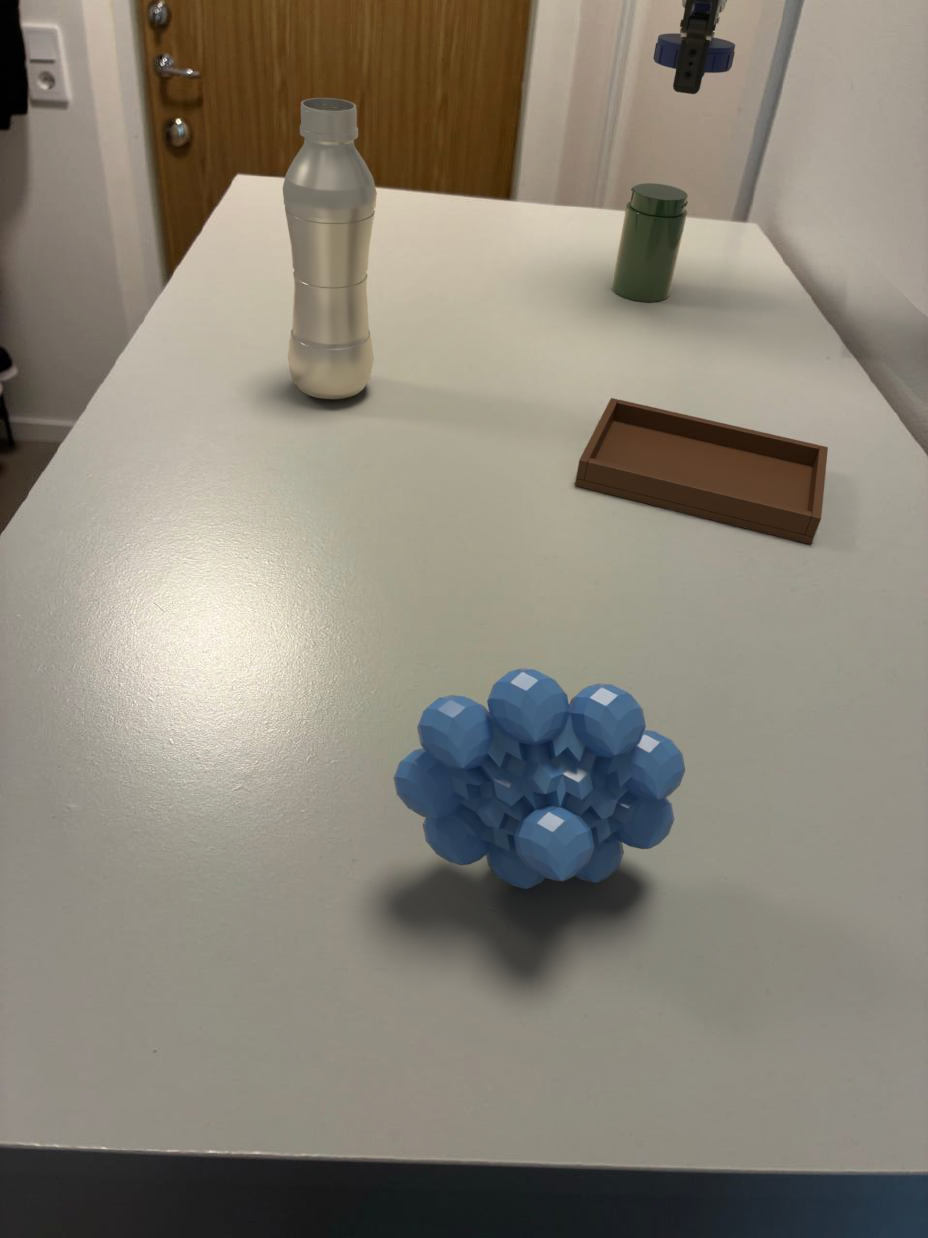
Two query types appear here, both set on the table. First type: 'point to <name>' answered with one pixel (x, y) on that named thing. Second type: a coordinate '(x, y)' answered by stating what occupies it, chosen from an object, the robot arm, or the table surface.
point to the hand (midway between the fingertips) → (688, 83)
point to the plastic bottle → (330, 252)
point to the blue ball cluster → (540, 779)
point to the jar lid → (716, 57)
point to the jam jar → (650, 242)
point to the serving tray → (706, 469)
